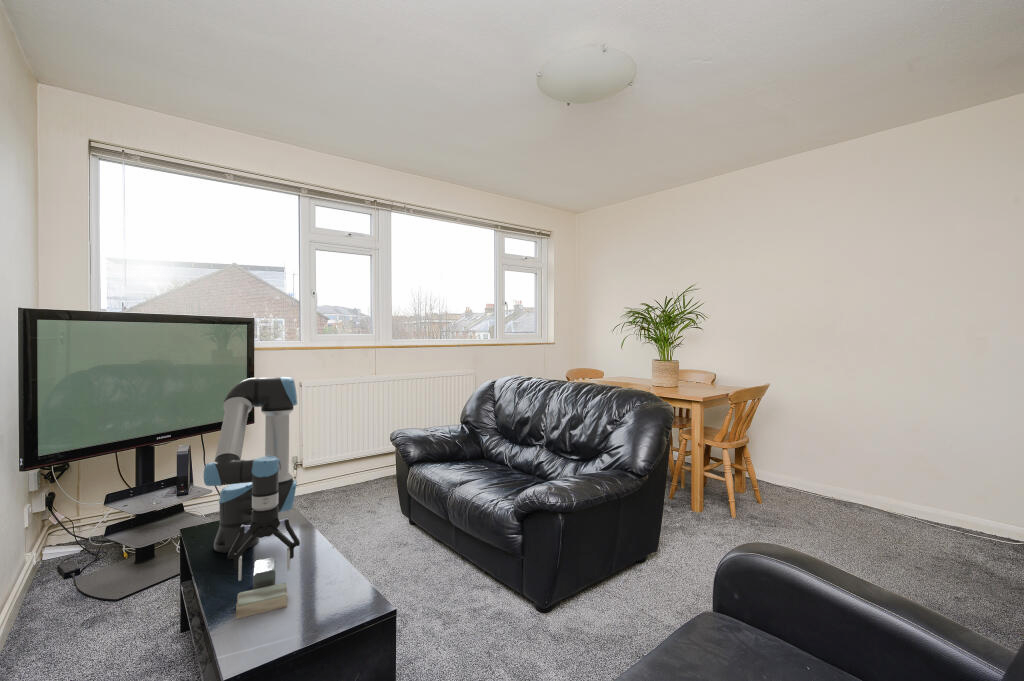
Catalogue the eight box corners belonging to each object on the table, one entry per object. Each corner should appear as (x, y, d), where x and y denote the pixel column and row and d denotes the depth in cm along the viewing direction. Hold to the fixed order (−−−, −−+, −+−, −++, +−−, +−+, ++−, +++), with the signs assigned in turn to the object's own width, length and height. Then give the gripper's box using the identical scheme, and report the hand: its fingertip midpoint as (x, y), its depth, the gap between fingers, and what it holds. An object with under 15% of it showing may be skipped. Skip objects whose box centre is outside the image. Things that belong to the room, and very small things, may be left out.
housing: (254, 582, 149) (254, 560, 149) (275, 578, 152) (275, 556, 152) (253, 598, 140) (253, 574, 140) (275, 593, 143) (275, 569, 143)
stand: (238, 604, 136) (238, 592, 136) (286, 593, 143) (286, 581, 143) (236, 618, 129) (236, 606, 129) (287, 606, 135) (287, 594, 135)
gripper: (218, 517, 137) (217, 588, 136) (308, 504, 149) (308, 569, 148) (220, 509, 143) (219, 577, 143) (306, 497, 155) (306, 560, 155)
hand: (264, 573), depth 146 cm, fingers open, 13 cm apart
